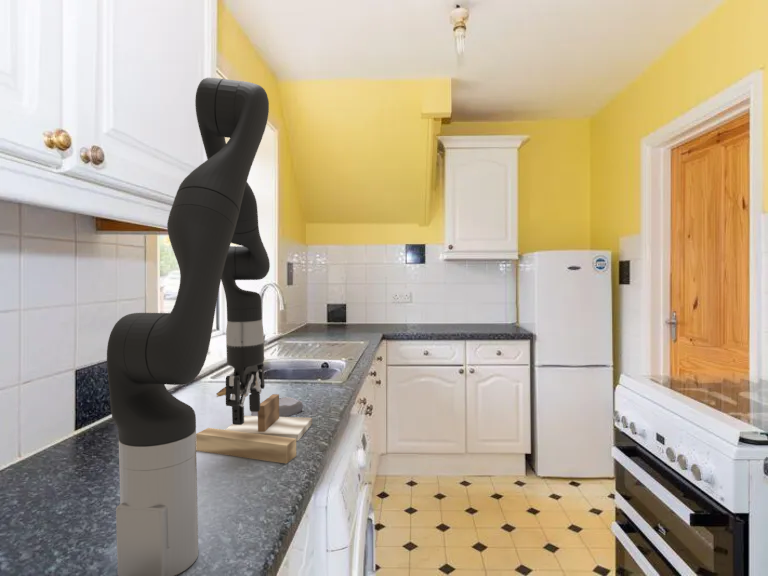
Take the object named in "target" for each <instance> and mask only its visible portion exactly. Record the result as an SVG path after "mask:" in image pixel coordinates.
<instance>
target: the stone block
mask: <svg viewBox="0 0 768 576" xmlns="http://www.w3.org/2000/svg"><path fill="white" fill-rule="evenodd" d="M261 403H262V402H260V404H261ZM303 408H304V403H303V401H302V400H298V399H296V398H294V397H289V396H287V397H279V417H292V416H293V415H297V414H299V413H301V412H302V411H303ZM250 414H251V416H258V412H251V411H250Z"/></svg>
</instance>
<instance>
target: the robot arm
mask: <svg viewBox="0 0 768 576" xmlns="http://www.w3.org/2000/svg"><path fill="white" fill-rule="evenodd" d="M194 99H195V100H194V101H195V104H194V105H195V114H196V115H195V116H196V120H197V124H198V129H199V132H200V137H201V140H202V145H203V149H204V152H205V155H206V160H205V161H204V162H203V163H201V164H199V165H198V166H197V167H196V168H195V169H194V170H192V171H191V172H190V173H189V174H188V175H187V176H186V177H185V178H184V179H183V180H182V182H181V183H180V184H179V187H178V189H177V191H176V194H175V197H174V199H173V203H172V206H171V209H170V211H169V215H168V219H167V224H166V225H167V226H166V227H167V228H166V229H167V236H168V238H169V242H170V245H171V249H172V251H173V253H174V256H175V259H176V261H177V264H178V269H179V274H180V275H179V278H180V279H179V286H178V291H177V296H176V299H175V302H174V305H173V308H172V310H171V311H170V312H134V313H129V314H126V315H124V316H122V317H121V318H119V320H117V322H115V324H114V326H113V327H112V329H111V332H110V334H109V338H108V341H107V347H106V368H107V379H108V380H107V381H108V382H107V383H108V390H109V403H110V413H111V418H112V419H113V422H114V424H115V426H116V428H117V431H118V458H119V461H118V462H119V463H118V464H119V465H118V466H119V468H118V469H119V500H120V502H119V505H117V506H116V508H115V521H116V522H115V524H116V526H115V527H116V557H117V558H116V561H117V576H177V575H179V574H181V573H183V572H184V571H186V570H188V568H190V567H191V566H192V565H193V564H195V561H197V558H199V518H198V515H199V514H198V512H199V511H198V506H199V505H198V470H197V469H198V468H197V467H198V465H197V463H198V462H197V451H196V434H197V429H196V428H197V418H196V415H197V414H196V412H195V410H194V409H193V407H192V406H190V405H189V404H188V403H185V402H183V401H182V400H181V399H178V398H177V397H176V396H174V395H173V394H172V393H171V392H170V391H169V390H168V389H167V386H166V385H168V386H169V385H171V386H172V385H173V386H174V385H175V386H181V385H188V384H190V383H191V382H193V381H194V380H195V379H196V378H197V377H199V374H200V373H201V372H202V369H203V367H204V365H205V362H206V360H207V355H208V352H209V349H210V343H211V338H212V333H213V332H212V331H213V326H214V320H215V314H216V308H217V303H218V297H219V296H218V295H219V292H220V291H219V290H220V286H221V283H222V286H223V290H224V294H225V295H224V296H225V300H226V331H225V339H226V341H225V342H226V344H225V345H226V364H227V365H228V366H230V367H233V373H232V374H233V375H226V377H225V387H226V395H225V406H226V407H231V414H232V415H231V416H232V417H231V418H232V419H231V420H232V424H234V425H242V424H243V423H244V416H245V400H246V398H247V397H248V403H249V411H250V413H251V412H258V411H259V410H260V403H261V394H262V391H263V390H264V389H265V387H266V386H265V367H264V365H265V364H264V362H265V355H264V354H265V345H264V344H265V343H264V326H263V314H262V313H263V310H262V309H263V308H262V307H263V306H262V303H263V302H262V296H261V294H260V293H258V292H257V291H252V290H245V289H243V288H241V287H239V286H238V285H237V283H236V281H260V280H262V279H263V280H264V279H265V278H266V276H268V274H269V272H270V267H271V263H270V258H269V255H268V252H267V249H266V247H265V246H264V242H263V241H262V238H261V234H260V229H259V216H258V215H259V214H258V212H259V211H258V202H257V199H256V195H255V193H254V191H253V189H252V188H251V186H250V185H249V183H248V179H249V175H250V171H251V168H252V165H253V163H254V161H255V160H254V159H255V158H256V155H257V152H258V150H259V147H260V144H261V142H262V139H263V137H264V134H265V131H266V127H267V124H268V118H269V113H270V112H269V111H270V110H269V109H270V106H269V105H270V103H269V102H270V101H269V96H268V94H267V92H266V90H265V88H263V86H261V85H260V84H258V83H253V82H250V81H244V80H234V79H226V78H220V77H219V78H217V77H205V78H203V79H202V80H201V81H200V82H199V84H198V85H197V88H196V92H195V98H194ZM226 138H228V139H229V140H226ZM226 141H227V142H226ZM231 244H234V245H235V246H231ZM236 245H238V246H236Z"/></svg>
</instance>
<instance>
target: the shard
mask: <svg viewBox="0 0 768 576" xmlns="http://www.w3.org/2000/svg"><path fill="white" fill-rule="evenodd" d="M216 395H217V397H221V396H222V397H223V396H226V386H224V387H222V388H221V389H220V390H219V391H218V392H217V393H216Z"/></svg>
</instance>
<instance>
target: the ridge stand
mask: <svg viewBox="0 0 768 576" xmlns="http://www.w3.org/2000/svg"><path fill="white" fill-rule="evenodd" d="M279 398H280V394H277V393H274V394H271V395H270V396H269V397H267V398H266V399H265V400H263V401H262V402H260V403H261V404H260V410H259V411H258V416H252V415H244V423H243V424H242V425H234V424H233V423H232V424H231V425H229V426H228V427H227V428H225V429H224V430H231V431H239V432H247V433H255V434H263V435H271V436H279V437H287V438H295V439H296V442H299V441H300V439H301V438H302V437H303V436H304V434H305V433H307V431H308V430H309V428H310V427H311V426H312V425H313V417H300V416H299V417H298V416H297V417H295V416H294V417H293V416H288V417H279Z"/></svg>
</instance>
